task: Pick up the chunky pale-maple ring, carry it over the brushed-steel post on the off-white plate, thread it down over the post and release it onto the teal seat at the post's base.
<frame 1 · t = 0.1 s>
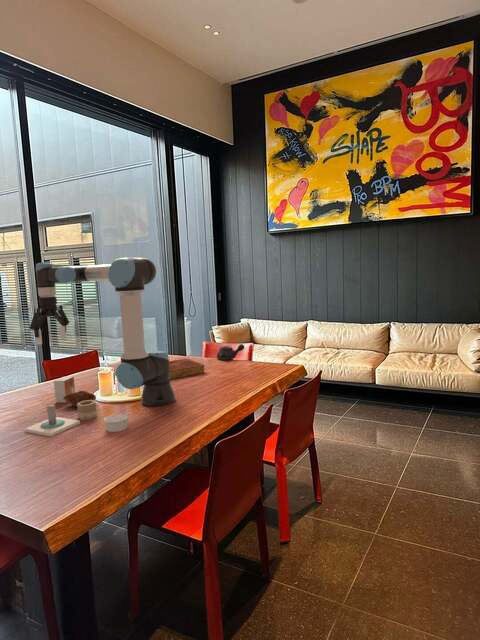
hand: (51, 341, 201), 28 cm above the table, fingers open, 13 cm apart
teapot: (230, 359, 277), on the table
ramekin: (116, 429, 164), on the table
maple ring: (87, 416, 178), on the table
small box: (66, 400, 203), on the table
book: (172, 374, 247), on the table
fossil: (81, 406, 193), on the table
post stand: (53, 427, 167), on the table
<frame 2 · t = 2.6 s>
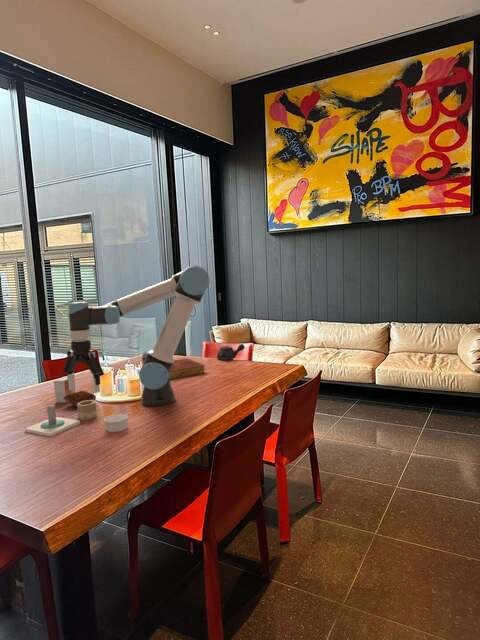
hand: (84, 390, 177), 11 cm above the table, fingers open, 13 cm apart
nothing on the table moved.
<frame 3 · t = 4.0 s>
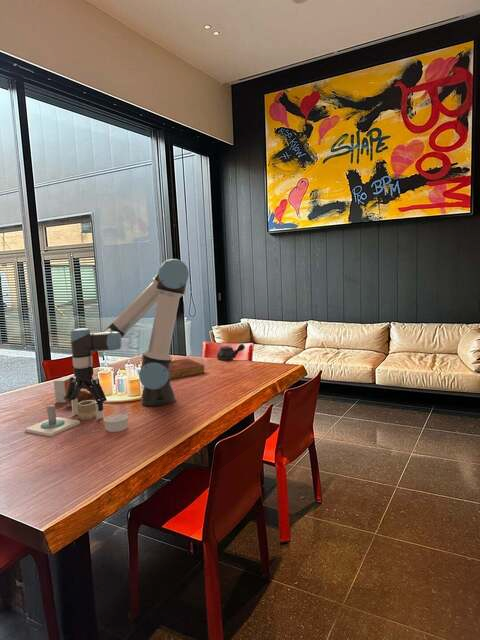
hand: (87, 416, 178), 0 cm above the table, fingers open, 13 cm apart
nothing on the table moved.
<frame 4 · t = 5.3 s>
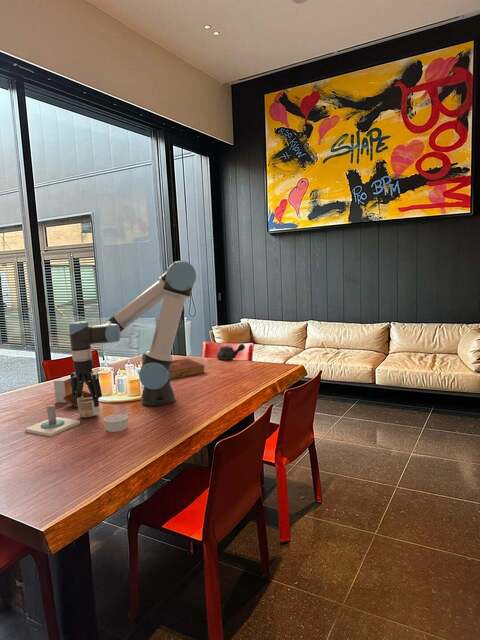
hand: (88, 413, 178), 1 cm above the table, fingers closed on maple ring, 7 cm apart
maple ring: (88, 414, 178), point 1 cm above the table, touching gripper
everything else where it was.
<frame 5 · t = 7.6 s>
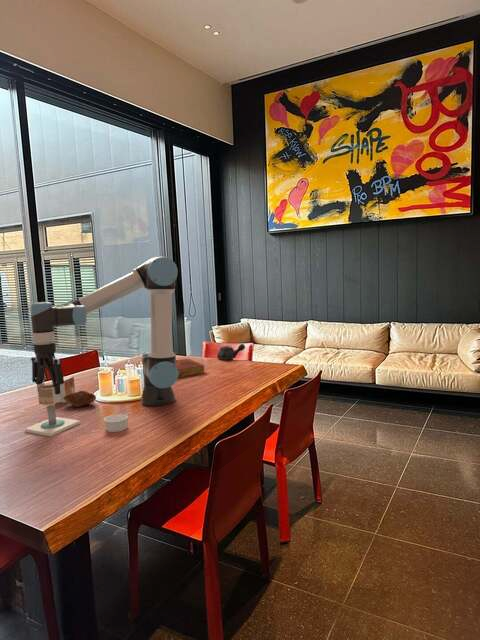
hand: (49, 401, 166), 11 cm above the table, fingers closed on maple ring, 7 cm apart
maple ring: (49, 401, 166), point 10 cm above the table, touching gripper
everything else where it was.
when the fingers open (3 cm above the table, at t = 10.0 s): maple ring stays where it is, resting on post stand.
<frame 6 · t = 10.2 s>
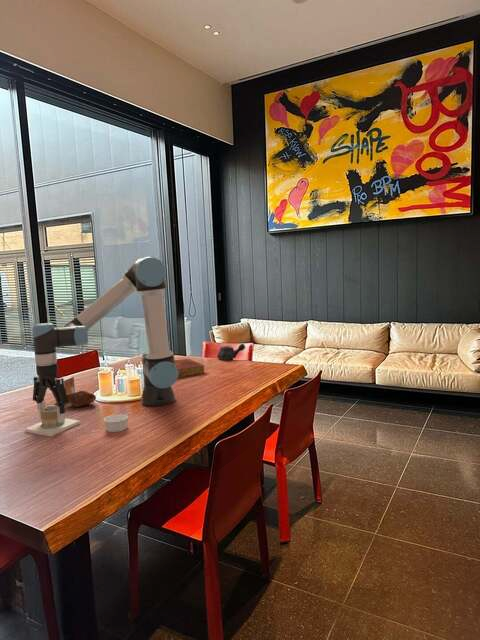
hand: (52, 419, 167), 3 cm above the table, fingers open, 9 cm apart
maple ring: (52, 423, 167), point 2 cm above the table, touching post stand
everything else where it was.
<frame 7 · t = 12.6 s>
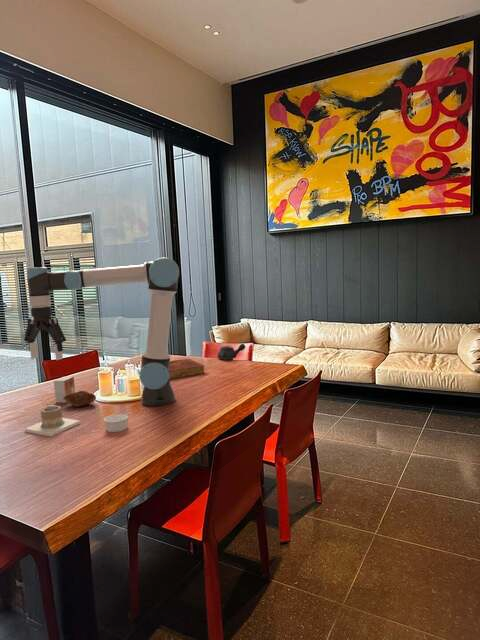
hand: (46, 359, 173), 26 cm above the table, fingers open, 13 cm apart
nothing on the table moved.
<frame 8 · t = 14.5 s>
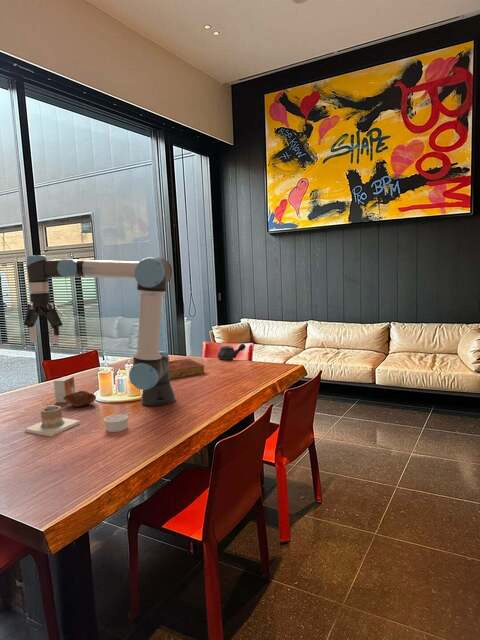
hand: (44, 342, 182), 31 cm above the table, fingers open, 13 cm apart
nothing on the table moved.
at the end: maple ring 0.0 cm off-centre on the post stand, point 1.6 cm above the post stand's base; the gripper is holding nothing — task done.
